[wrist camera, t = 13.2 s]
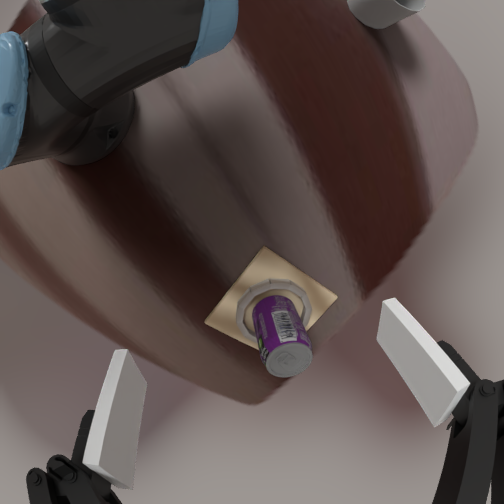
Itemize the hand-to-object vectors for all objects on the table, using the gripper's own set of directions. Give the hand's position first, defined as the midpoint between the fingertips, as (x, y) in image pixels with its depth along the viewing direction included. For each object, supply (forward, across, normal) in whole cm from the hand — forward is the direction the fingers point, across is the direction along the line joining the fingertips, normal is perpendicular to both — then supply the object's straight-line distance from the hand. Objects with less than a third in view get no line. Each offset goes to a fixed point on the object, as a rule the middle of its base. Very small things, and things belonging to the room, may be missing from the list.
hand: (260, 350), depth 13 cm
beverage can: (+27, +4, -18) cm, 32 cm away
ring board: (+27, +4, -18) cm, 33 cm away
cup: (+29, +27, +31) cm, 50 cm away
